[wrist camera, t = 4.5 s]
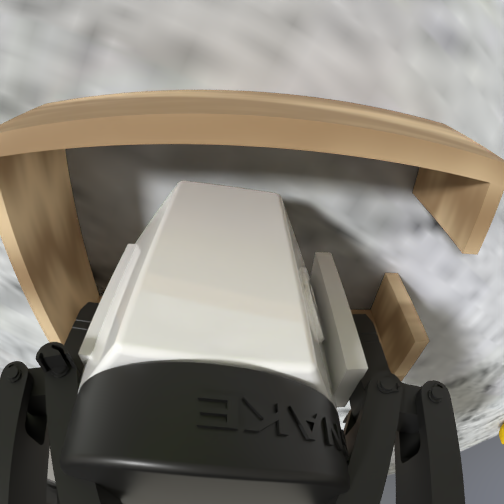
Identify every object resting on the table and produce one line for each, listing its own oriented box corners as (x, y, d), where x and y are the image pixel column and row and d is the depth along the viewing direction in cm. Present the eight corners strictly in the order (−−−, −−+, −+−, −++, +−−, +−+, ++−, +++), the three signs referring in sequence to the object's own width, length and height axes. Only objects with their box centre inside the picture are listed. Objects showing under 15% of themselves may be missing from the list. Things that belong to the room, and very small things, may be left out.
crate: (378, 318, 23) (399, 383, 18) (91, 304, 22) (64, 366, 17) (444, 124, 14) (511, 165, 9) (45, 103, 13) (-26, 138, 9)
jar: (318, 292, 18) (362, 504, 8) (190, 327, 20) (169, 519, 10) (267, 146, 13) (327, 440, 3) (111, 209, 15) (-8, 437, 5)
